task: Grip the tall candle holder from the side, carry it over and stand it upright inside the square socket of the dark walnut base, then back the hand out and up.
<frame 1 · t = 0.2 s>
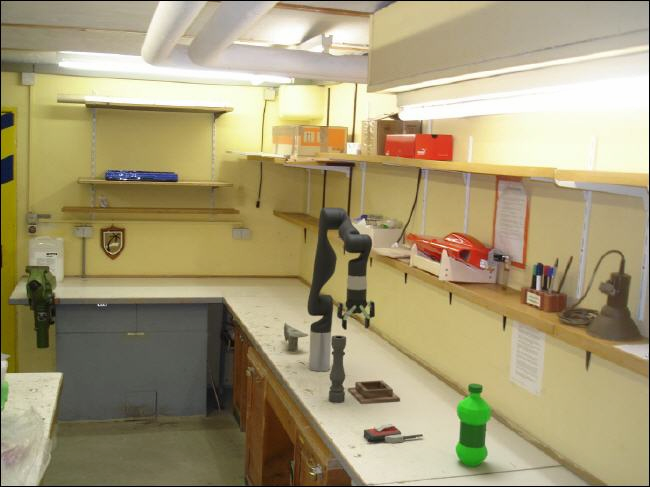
hand: (355, 328, 278), 29 cm above the workbench, tool pointing down, fingers open, 8 cm apart
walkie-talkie: (391, 439, 248), on the workbench
walnut socket base: (373, 395, 290), on the workbench
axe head: (291, 349, 355), on the workbench
plastic bottle: (470, 463, 230), on the workbench
candle holder: (336, 400, 283), on the workbench
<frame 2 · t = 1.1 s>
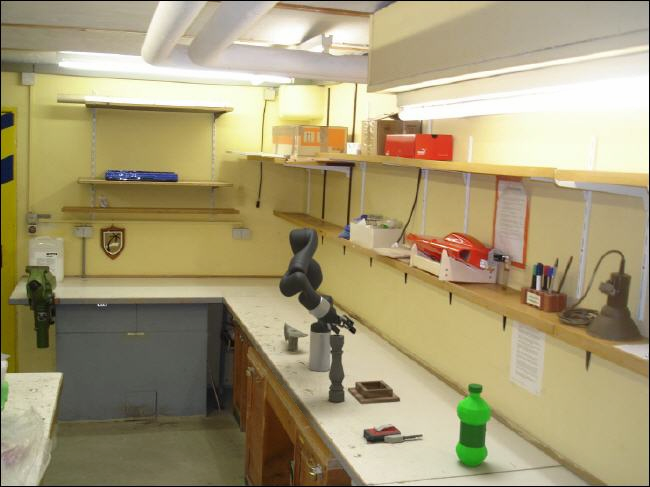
hand: (346, 332, 281), 27 cm above the workbench, tool tilted 50°, fingers open, 8 cm apart
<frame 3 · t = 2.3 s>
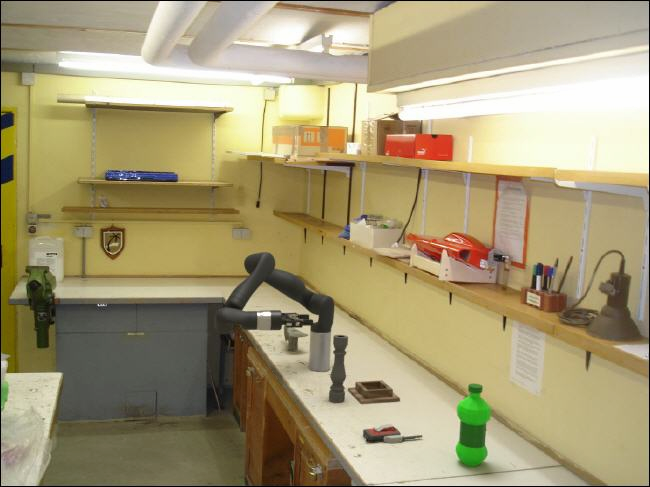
hand: (311, 319, 277), 32 cm above the workbench, tool horizontal, fingers open, 8 cm apart
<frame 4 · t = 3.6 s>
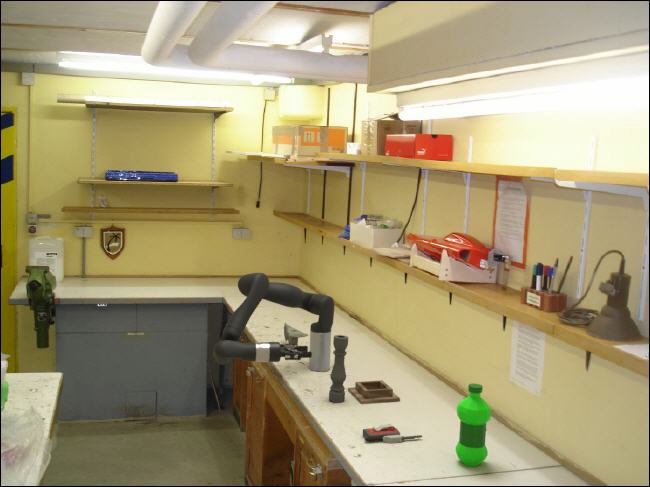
hand: (309, 351, 279), 20 cm above the workbench, tool horizontal, fingers open, 8 cm apart
nothing on the workbench moved.
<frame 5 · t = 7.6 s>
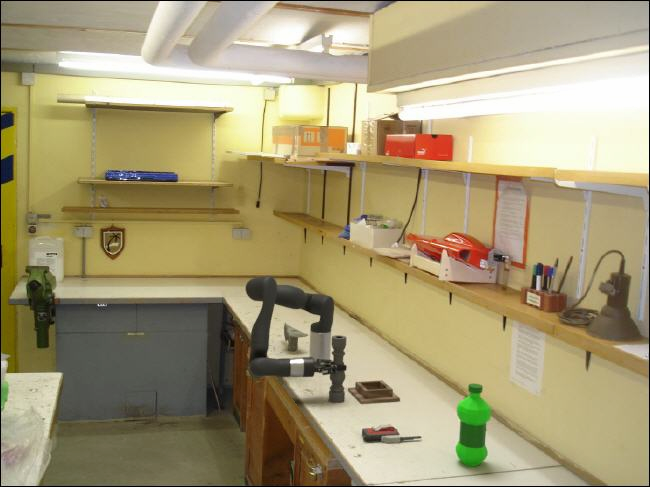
hand: (344, 366, 282), 14 cm above the workbench, tool horizontal, fingers closed on candle holder, 3 cm apart
candle holder: (336, 400, 283), on the workbench, touching gripper
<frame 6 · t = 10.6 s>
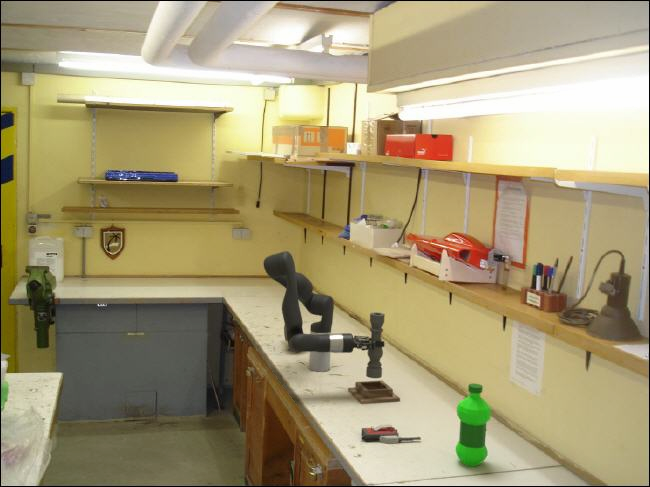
hand: (382, 342, 288), 22 cm above the workbench, tool horizontal, fingers closed on candle holder, 3 cm apart
candle holder: (373, 376, 289), point 8 cm above the workbench, touching gripper
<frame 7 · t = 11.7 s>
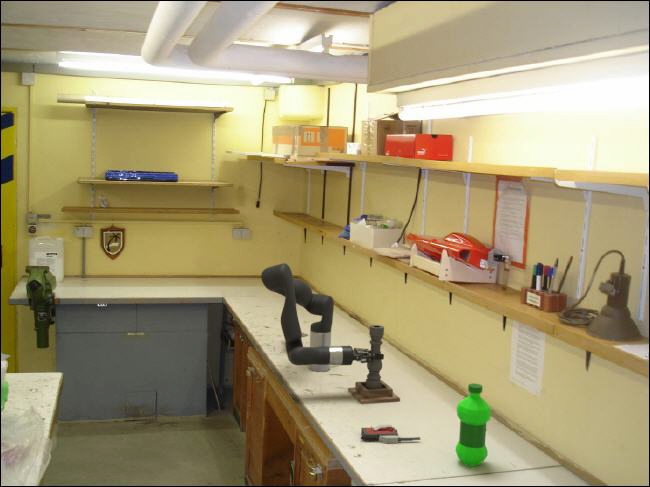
hand: (381, 355, 288), 17 cm above the workbench, tool horizontal, fingers closed on candle holder, 3 cm apart
candle holder: (373, 388, 289), point 3 cm above the workbench, touching gripper
when the fingers open (16 cm above the workbench, at t = 12.2 s): candle holder drops 1 cm, resting on walnut socket base.
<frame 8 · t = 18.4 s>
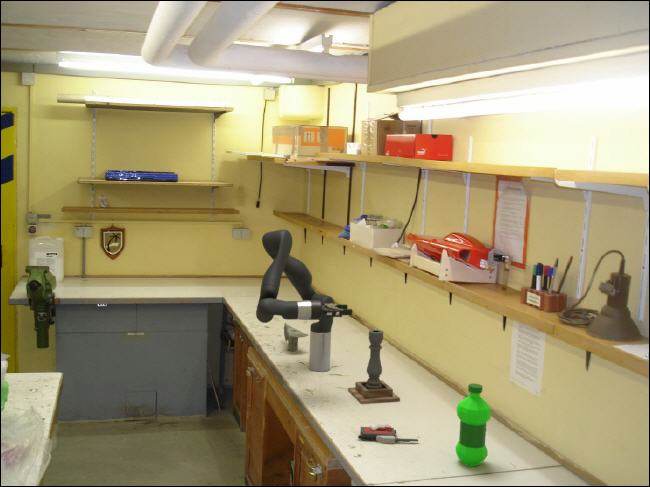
hand: (349, 309, 283), 35 cm above the workbench, tool horizontal, fingers open, 8 cm apart
candle holder: (373, 393, 290), point 1 cm above the workbench, touching walnut socket base
at the end: candle holder 0.3 cm off-centre on the walnut socket base, point 1.0 cm above the walnut socket base's base; candle holder tilted 0°; the gripper is holding nothing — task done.
